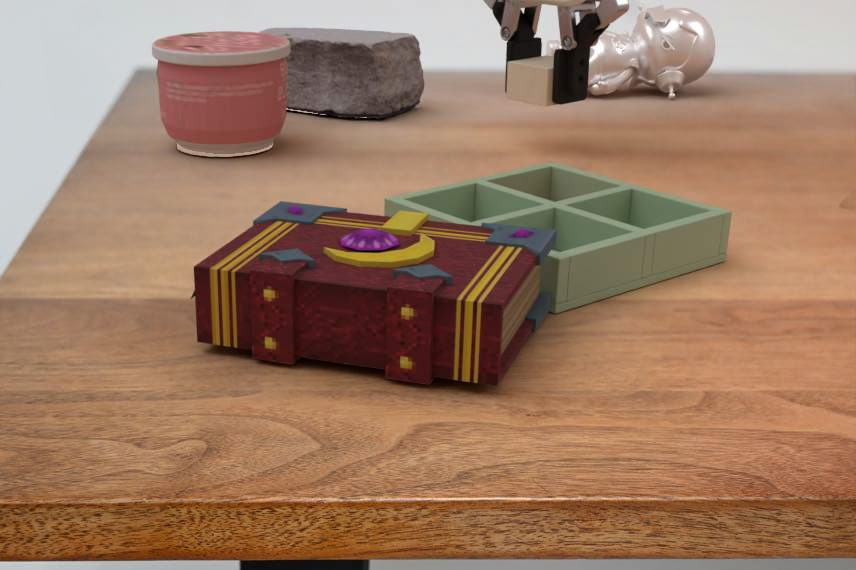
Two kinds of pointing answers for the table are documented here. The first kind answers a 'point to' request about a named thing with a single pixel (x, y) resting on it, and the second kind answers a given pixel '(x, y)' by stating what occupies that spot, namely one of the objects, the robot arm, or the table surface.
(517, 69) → the block
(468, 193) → the grid
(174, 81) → the container
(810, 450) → the table surface
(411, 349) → the decorative book
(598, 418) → the table surface
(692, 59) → the figurine
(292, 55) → the decorative stone
